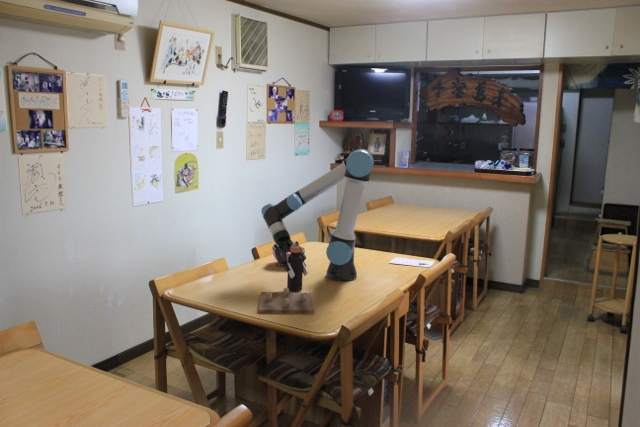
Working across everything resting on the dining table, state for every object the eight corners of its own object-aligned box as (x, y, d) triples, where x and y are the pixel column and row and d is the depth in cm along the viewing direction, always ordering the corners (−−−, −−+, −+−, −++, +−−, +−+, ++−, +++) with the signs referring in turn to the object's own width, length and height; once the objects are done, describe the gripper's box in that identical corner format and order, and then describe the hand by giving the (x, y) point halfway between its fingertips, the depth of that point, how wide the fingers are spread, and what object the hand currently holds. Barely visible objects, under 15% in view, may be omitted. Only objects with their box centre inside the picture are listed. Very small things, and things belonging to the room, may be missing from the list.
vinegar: (296, 292, 240) (297, 249, 237) (284, 289, 244) (285, 247, 240) (304, 289, 246) (306, 246, 243) (292, 286, 249) (293, 244, 246)
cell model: (312, 263, 292) (312, 243, 290) (290, 271, 275) (291, 249, 273) (286, 258, 301) (287, 238, 299) (264, 265, 284) (265, 244, 282)
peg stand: (310, 296, 237) (311, 286, 236) (313, 313, 215) (314, 302, 214) (260, 295, 235) (260, 285, 234) (258, 313, 213) (258, 302, 212)
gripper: (293, 235, 259) (313, 276, 250) (258, 240, 247) (278, 283, 237) (300, 227, 254) (320, 268, 245) (265, 231, 242) (285, 274, 232)
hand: (299, 275), depth 241 cm, fingers closed on vinegar, 7 cm apart
